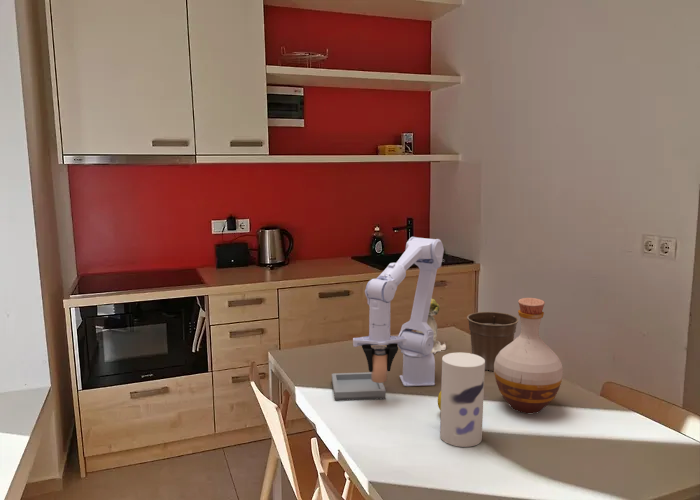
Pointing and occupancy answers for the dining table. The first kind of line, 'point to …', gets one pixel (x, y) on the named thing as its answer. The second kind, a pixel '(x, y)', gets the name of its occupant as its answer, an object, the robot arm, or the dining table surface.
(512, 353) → the jug
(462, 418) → the container
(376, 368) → the shaker
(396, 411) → the dining table surface
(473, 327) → the plant pot
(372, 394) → the tray
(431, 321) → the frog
